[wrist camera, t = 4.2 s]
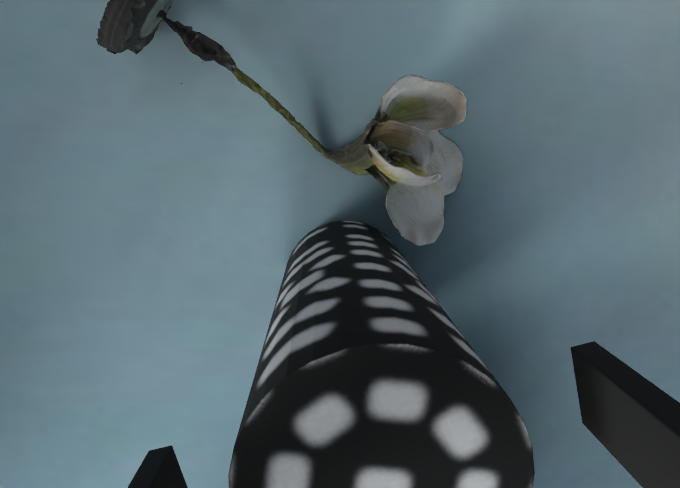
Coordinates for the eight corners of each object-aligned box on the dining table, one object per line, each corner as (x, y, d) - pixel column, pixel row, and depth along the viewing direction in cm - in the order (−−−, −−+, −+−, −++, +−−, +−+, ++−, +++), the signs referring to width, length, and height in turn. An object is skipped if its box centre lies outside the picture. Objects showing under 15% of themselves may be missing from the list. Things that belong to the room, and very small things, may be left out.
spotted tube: (413, 228, 32) (564, 359, 12) (395, 341, 33) (501, 620, 14) (291, 213, 31) (241, 326, 11) (279, 329, 33) (217, 601, 13)
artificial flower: (189, -53, 29) (185, -189, 19) (449, 168, 35) (544, 149, 25) (100, 58, 28) (49, -28, 18) (385, 267, 34) (459, 285, 24)
